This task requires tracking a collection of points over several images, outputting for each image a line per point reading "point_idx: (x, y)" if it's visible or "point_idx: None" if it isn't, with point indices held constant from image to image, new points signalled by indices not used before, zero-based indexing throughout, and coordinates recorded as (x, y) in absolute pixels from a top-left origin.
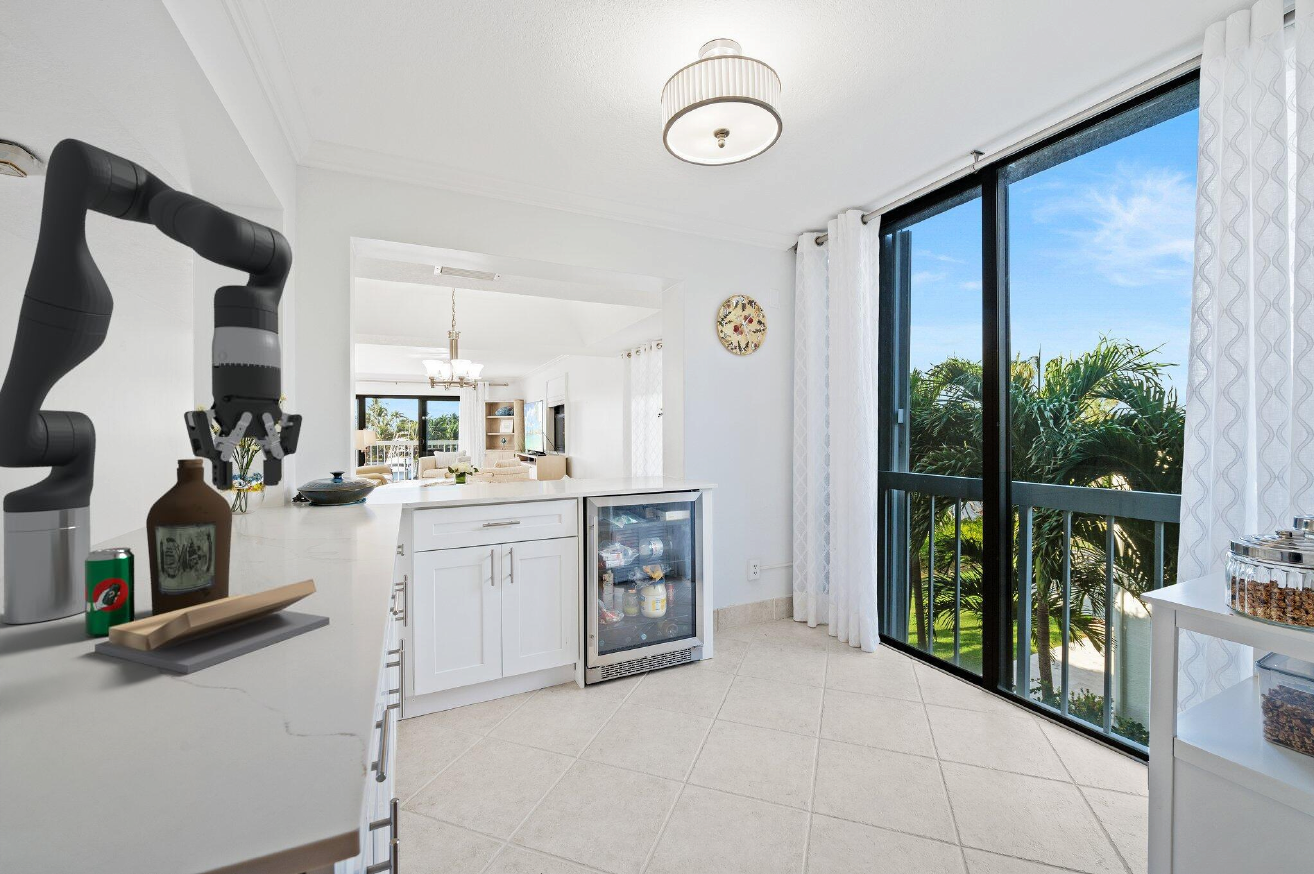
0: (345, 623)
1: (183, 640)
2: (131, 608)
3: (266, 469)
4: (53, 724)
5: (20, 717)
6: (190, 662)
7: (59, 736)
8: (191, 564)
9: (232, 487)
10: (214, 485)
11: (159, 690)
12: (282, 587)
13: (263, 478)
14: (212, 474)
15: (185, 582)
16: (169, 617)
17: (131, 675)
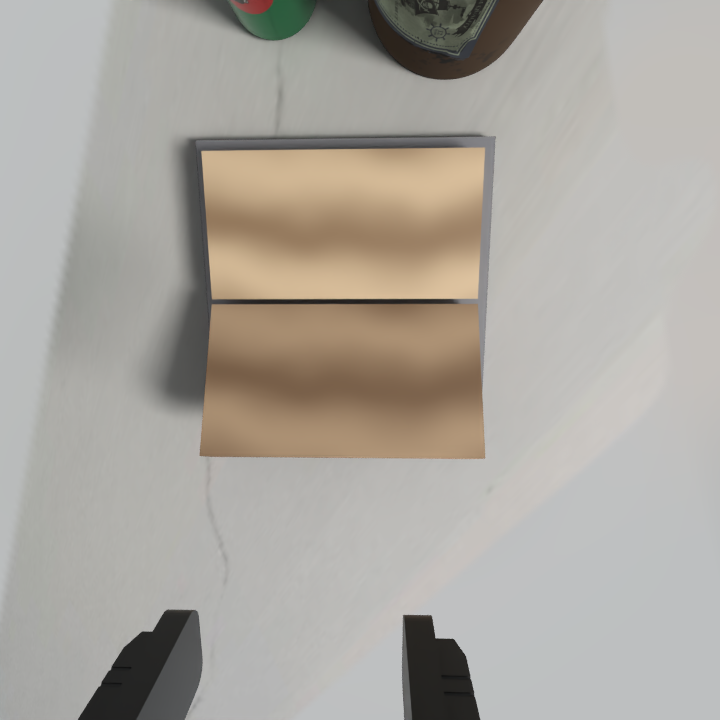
0: (489, 472)
1: (280, 302)
2: (292, 7)
3: (409, 713)
4: (67, 450)
5: (51, 381)
6: None
7: (61, 495)
8: (420, 5)
9: (198, 682)
10: (141, 636)
11: (175, 466)
12: (403, 457)
13: (405, 638)
14: (102, 684)
15: (403, 23)
16: (294, 201)
17: (181, 359)
